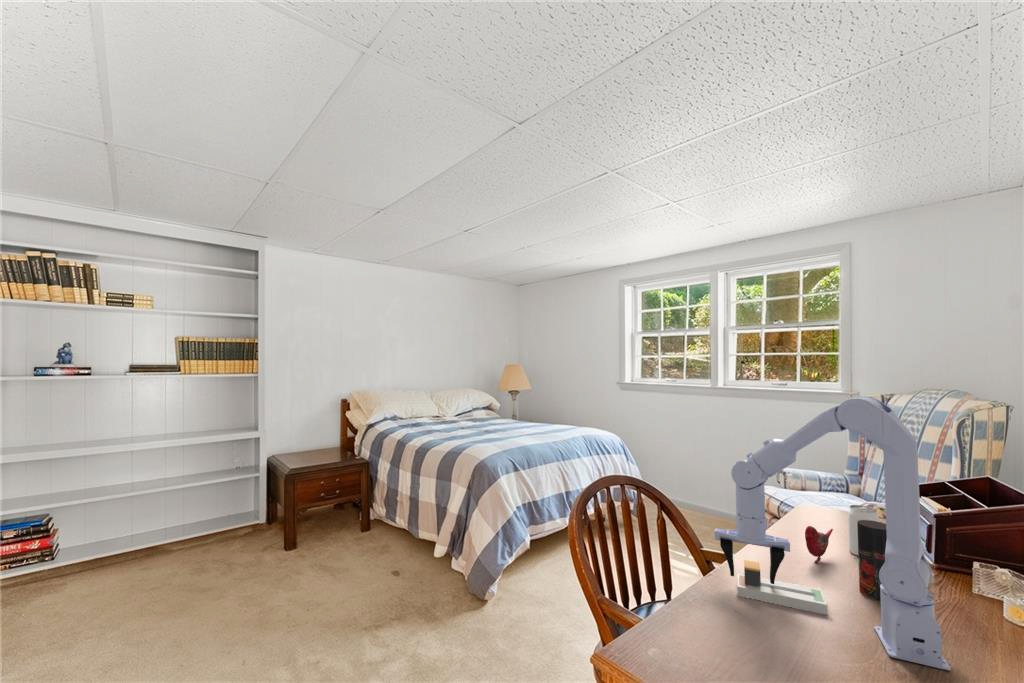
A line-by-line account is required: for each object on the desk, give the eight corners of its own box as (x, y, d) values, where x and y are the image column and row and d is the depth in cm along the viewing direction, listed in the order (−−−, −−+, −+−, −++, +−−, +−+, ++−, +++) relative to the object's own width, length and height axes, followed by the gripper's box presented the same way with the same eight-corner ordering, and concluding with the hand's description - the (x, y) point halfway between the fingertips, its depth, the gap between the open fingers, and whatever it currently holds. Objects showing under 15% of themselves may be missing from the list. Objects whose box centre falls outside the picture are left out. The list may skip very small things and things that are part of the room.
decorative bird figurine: (800, 568, 110) (799, 526, 110) (826, 550, 121) (825, 512, 121) (813, 572, 108) (812, 530, 108) (839, 554, 118) (838, 515, 119)
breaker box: (827, 615, 89) (827, 604, 89) (737, 596, 96) (737, 586, 96) (821, 598, 95) (821, 588, 96) (737, 582, 103) (737, 572, 103)
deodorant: (901, 603, 94) (898, 530, 94) (869, 600, 95) (866, 528, 96) (884, 589, 100) (881, 521, 100) (853, 586, 101) (851, 519, 101)
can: (878, 553, 119) (876, 507, 120) (882, 562, 114) (880, 513, 114) (848, 547, 123) (846, 503, 123) (850, 556, 117) (848, 509, 118)
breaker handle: (760, 586, 96) (760, 569, 96) (744, 583, 97) (744, 567, 97) (759, 578, 99) (759, 562, 100) (744, 575, 101) (744, 559, 101)
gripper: (787, 514, 99) (788, 577, 99) (715, 505, 106) (716, 564, 105) (790, 524, 93) (792, 591, 92) (714, 513, 100) (715, 576, 99)
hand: (751, 578), depth 98 cm, fingers open, 7 cm apart
